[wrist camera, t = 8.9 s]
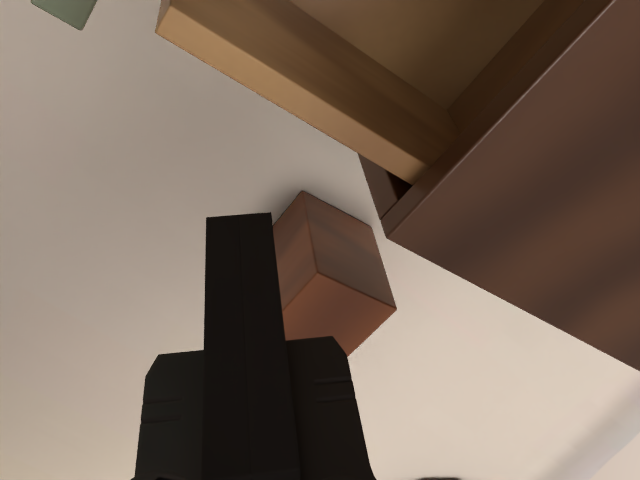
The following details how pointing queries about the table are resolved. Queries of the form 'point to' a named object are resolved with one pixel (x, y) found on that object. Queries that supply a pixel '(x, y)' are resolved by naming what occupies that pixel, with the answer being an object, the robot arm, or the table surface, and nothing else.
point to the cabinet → (544, 186)
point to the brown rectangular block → (329, 274)
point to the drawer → (363, 61)
